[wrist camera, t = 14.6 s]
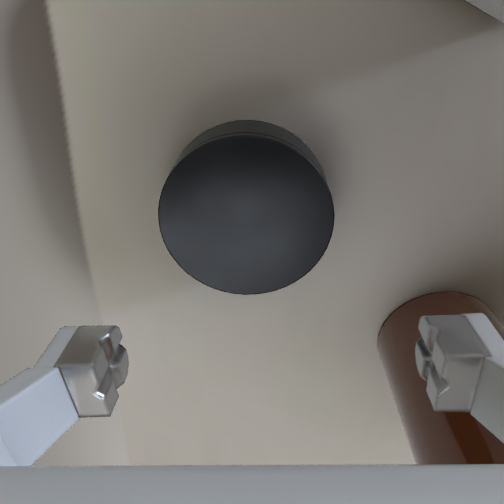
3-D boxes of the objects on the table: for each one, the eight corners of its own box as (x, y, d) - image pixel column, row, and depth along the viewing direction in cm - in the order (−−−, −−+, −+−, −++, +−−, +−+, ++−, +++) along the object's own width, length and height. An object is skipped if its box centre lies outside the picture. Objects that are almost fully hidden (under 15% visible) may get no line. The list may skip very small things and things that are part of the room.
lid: (141, 155, 17) (125, 174, 15) (298, 93, 15) (303, 105, 13) (208, 282, 20) (202, 313, 18) (344, 239, 19) (353, 267, 17)
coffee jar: (519, 330, 21) (819, 705, 10) (429, 393, 23) (585, 753, 12) (441, 270, 19) (694, 639, 8) (353, 345, 22) (451, 709, 10)
